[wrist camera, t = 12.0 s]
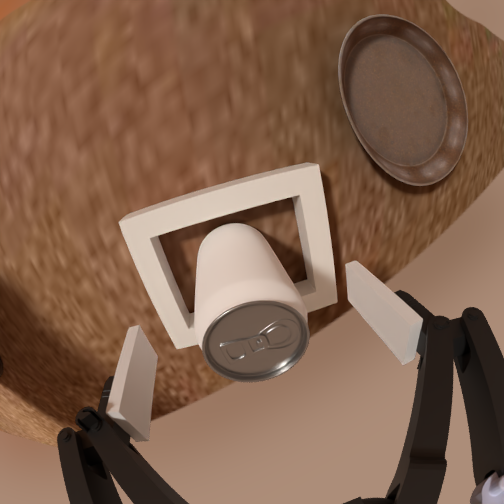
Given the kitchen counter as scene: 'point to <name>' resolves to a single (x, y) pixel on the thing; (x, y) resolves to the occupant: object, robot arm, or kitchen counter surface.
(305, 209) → the socket collar
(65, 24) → the kitchen counter surface
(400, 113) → the plant saucer
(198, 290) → the can
